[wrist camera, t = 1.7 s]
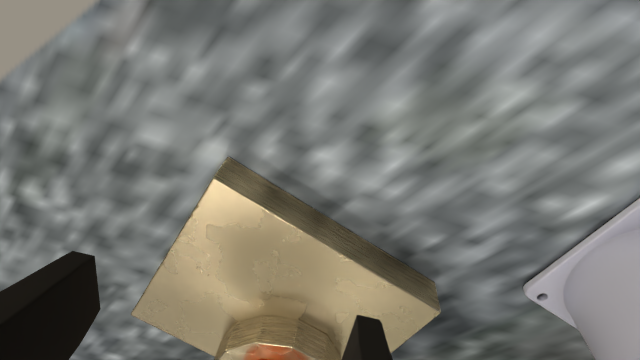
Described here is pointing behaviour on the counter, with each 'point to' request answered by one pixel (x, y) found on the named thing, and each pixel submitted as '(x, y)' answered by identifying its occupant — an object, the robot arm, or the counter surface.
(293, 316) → the oven controls
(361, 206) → the counter surface
